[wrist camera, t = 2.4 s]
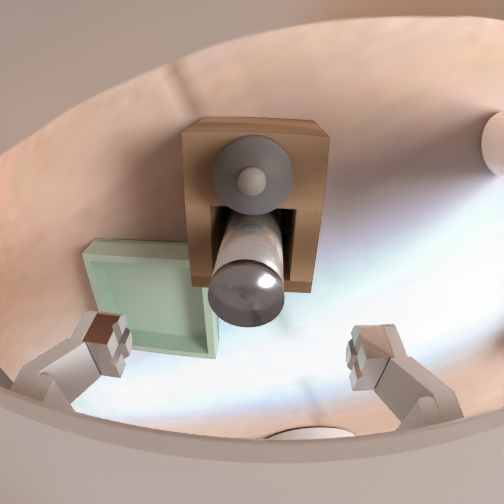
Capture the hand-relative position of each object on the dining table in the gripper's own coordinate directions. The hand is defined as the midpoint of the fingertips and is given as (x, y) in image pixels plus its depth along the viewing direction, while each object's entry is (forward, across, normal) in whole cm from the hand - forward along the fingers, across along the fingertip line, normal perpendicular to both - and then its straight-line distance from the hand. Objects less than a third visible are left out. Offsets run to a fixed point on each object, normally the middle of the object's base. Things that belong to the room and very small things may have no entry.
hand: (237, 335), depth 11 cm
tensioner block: (+13, 0, -1) cm, 13 cm away
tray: (+13, +8, +9) cm, 18 cm away
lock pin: (+13, 0, +1) cm, 13 cm away
